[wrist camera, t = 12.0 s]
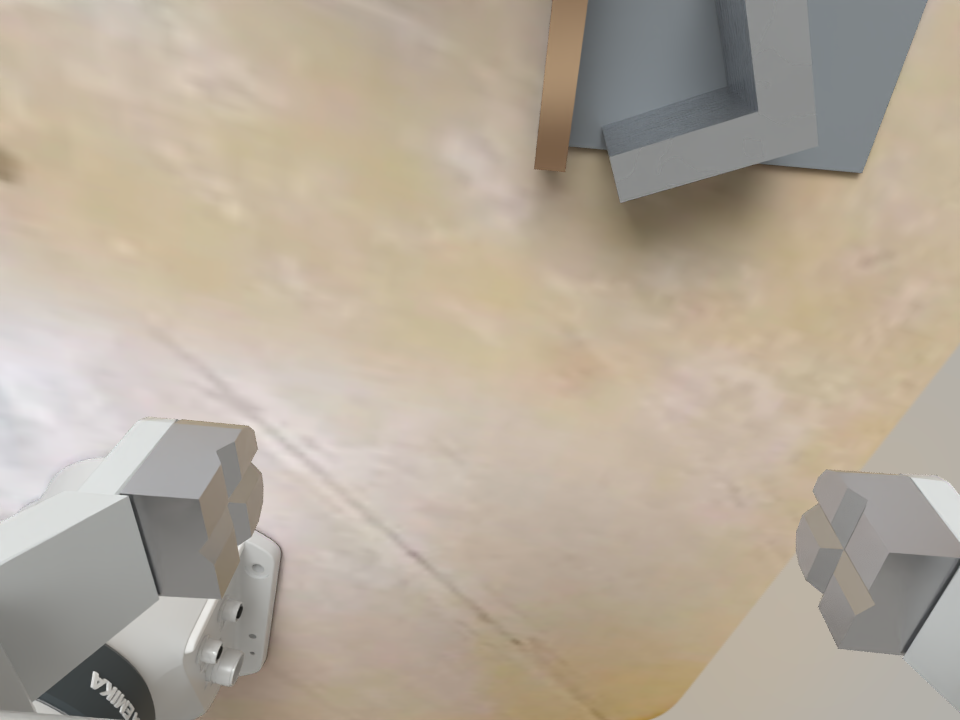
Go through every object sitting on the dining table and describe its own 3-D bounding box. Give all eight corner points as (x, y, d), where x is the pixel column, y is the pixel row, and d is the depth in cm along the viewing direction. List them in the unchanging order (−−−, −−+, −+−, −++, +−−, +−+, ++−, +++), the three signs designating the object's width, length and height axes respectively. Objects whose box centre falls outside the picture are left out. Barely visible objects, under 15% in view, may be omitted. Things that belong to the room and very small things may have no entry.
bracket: (778, 115, 27) (818, 146, 23) (611, 166, 29) (620, 202, 25) (757, -76, 24) (800, -81, 20) (570, -5, 26) (573, 3, 21)
